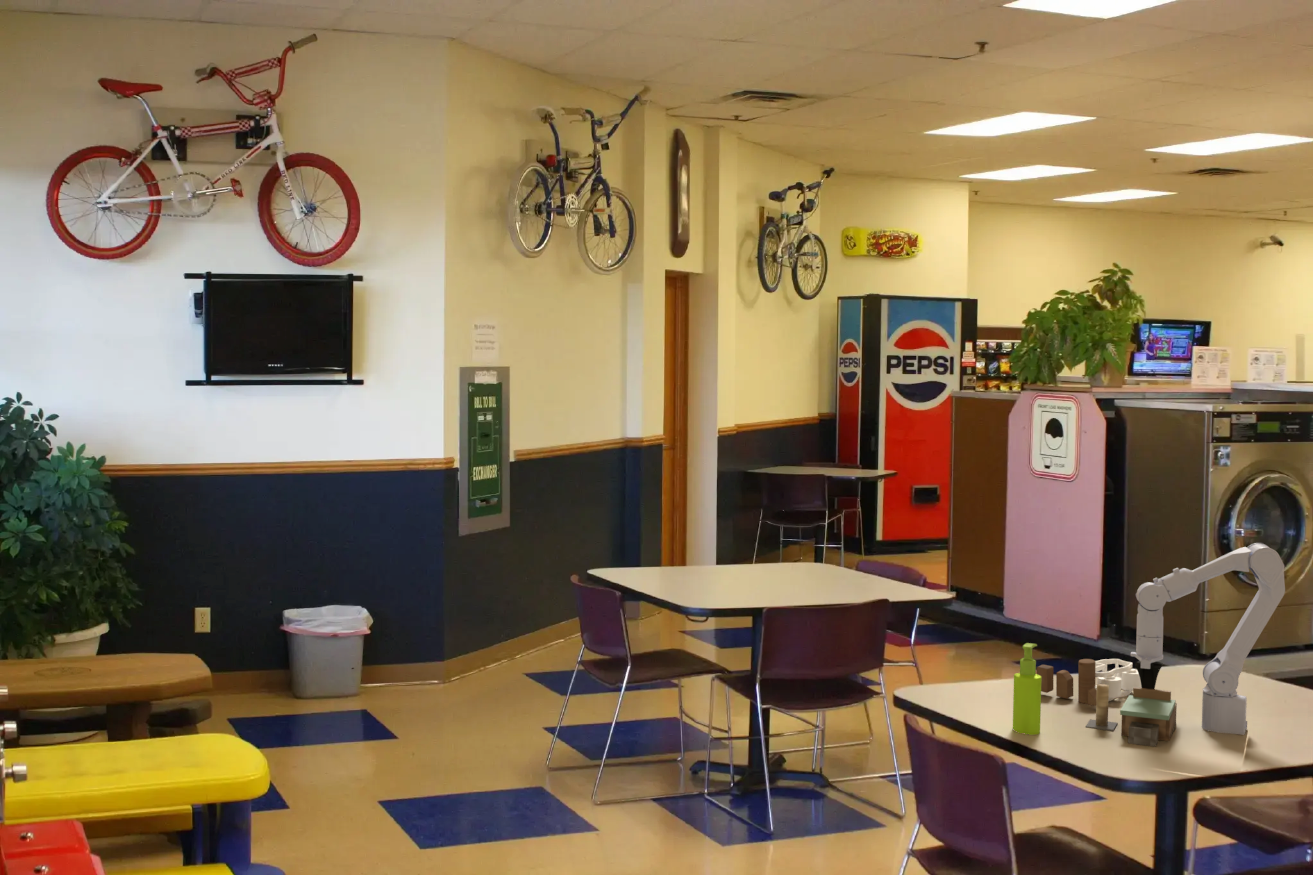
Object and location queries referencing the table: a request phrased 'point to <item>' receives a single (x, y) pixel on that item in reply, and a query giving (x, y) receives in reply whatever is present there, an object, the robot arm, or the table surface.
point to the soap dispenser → (1027, 695)
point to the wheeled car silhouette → (1117, 677)
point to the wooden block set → (1071, 681)
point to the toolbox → (1148, 729)
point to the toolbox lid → (1149, 704)
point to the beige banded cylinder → (1102, 705)
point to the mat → (1109, 727)
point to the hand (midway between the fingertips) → (1148, 693)
